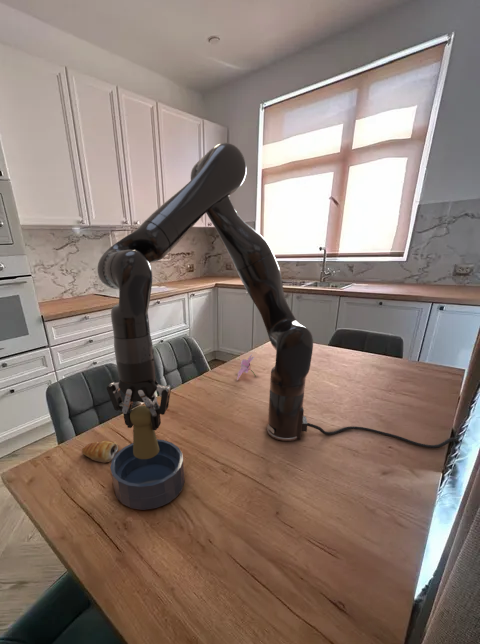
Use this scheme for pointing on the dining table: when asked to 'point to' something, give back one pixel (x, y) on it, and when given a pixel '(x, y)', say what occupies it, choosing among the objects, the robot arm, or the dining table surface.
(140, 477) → the basin
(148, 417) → the olive game pawn
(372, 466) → the dining table surface
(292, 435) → the robot arm
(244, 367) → the lily
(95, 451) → the pastry
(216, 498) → the dining table surface
